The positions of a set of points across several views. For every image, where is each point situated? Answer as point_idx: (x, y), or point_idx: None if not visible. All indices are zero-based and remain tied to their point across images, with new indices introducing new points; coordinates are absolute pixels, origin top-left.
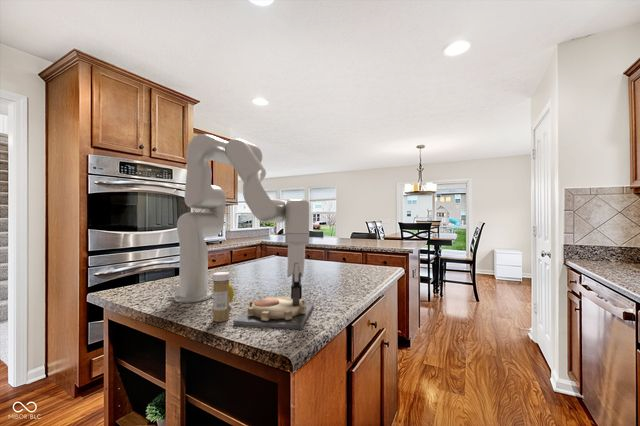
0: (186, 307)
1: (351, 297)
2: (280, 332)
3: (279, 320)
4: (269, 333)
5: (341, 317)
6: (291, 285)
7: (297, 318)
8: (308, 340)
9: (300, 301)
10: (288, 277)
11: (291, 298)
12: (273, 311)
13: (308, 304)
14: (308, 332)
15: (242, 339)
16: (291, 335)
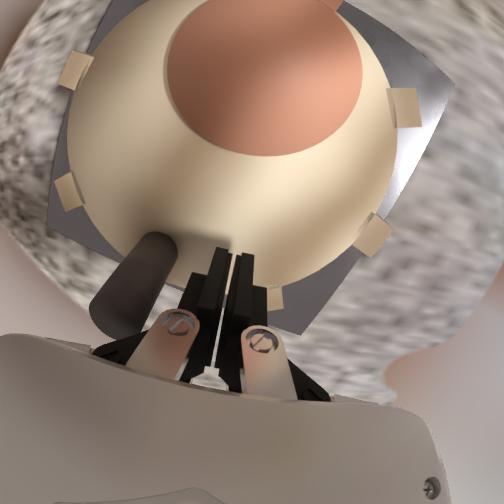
0: None
1: None
2: (41, 144)
3: None
4: (40, 105)
5: None
6: (232, 313)
7: None
8: (7, 225)
9: (227, 289)
10: (28, 335)
11: (216, 248)
12: (73, 112)
13: (293, 314)
14: (41, 236)
15: (31, 32)
16: (24, 181)
